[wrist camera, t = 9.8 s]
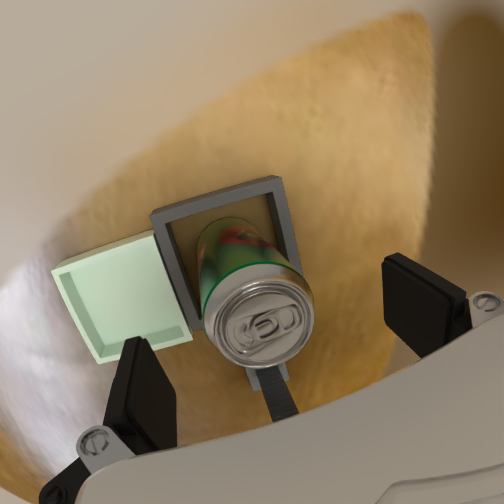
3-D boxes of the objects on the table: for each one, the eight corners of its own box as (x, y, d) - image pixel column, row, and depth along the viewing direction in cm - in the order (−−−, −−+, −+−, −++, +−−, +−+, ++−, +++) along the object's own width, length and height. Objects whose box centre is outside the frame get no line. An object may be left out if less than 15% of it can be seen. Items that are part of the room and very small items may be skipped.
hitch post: (286, 373, 28) (344, 490, 15) (251, 385, 28) (292, 509, 15) (266, 298, 25) (338, 423, 12) (225, 311, 25) (263, 449, 12)
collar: (296, 282, 26) (307, 295, 23) (191, 316, 25) (192, 331, 22) (271, 175, 23) (281, 176, 20) (154, 210, 22) (149, 215, 19)
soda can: (185, 233, 23) (181, 303, 11) (247, 205, 23) (303, 248, 12) (212, 289, 24) (234, 391, 13) (270, 263, 25) (335, 345, 13)
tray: (192, 323, 25) (192, 339, 22) (104, 347, 24) (98, 364, 22) (156, 227, 22) (152, 235, 20) (62, 260, 21) (50, 270, 19)
